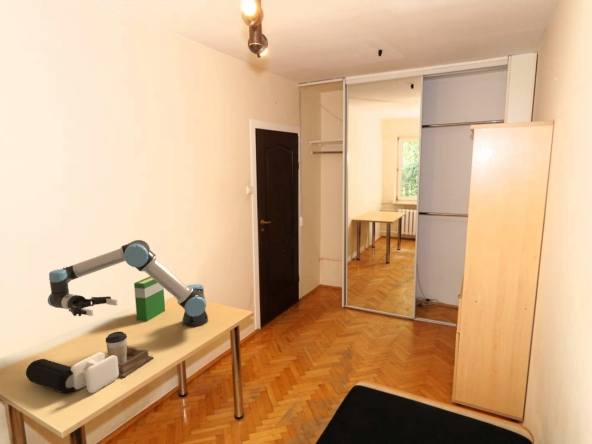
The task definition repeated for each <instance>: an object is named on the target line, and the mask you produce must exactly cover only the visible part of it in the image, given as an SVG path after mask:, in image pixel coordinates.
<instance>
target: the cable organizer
mask: <svg viewBox="0 0 592 444" xmlns="http://www.w3.org/2000/svg"><path fill="white" fill-rule="evenodd" d="M70 367H71V371H72V372H73V374H72V383H73V388H75V389H77V390H79V389H80V390H81V389H84V388H86V391H87V392H88V393H90V394H93V393H97V392H99V391H100V390H102V388H105V386H107V385H110V384H111V383H113V382H114V381H116V380H117V379H118V378H119V377H118V376H119V370H118V359H117V356H114V355H112V356H109V357H106V355H105V353H104V352H99V351H98V352H96V353H94V354H92V355H90V356H89V357H87V358H84V359H82V360H81V361H78V362H76V363H74V364H73V365H72V366H70Z"/></svg>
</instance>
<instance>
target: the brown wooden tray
mask: <svg viewBox="0 0 592 444" xmlns="http://www.w3.org/2000/svg"><path fill="white" fill-rule="evenodd" d="M152 360H154V356H152V355H151V356H150V355H149V350H148V349H144V348H141V347H136V346H131V345H127V354H126V362H124V363H121V362H118V370H119V376H118V377H117V378H122V379H125V378H126V377H127V376H130V375H131V374H132V373H134V372H136V371H137V370H138V369H140V368H142V367H144V365H146V364H147V363H149V362H151V361H152Z"/></svg>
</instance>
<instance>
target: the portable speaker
mask: <svg viewBox="0 0 592 444" xmlns="http://www.w3.org/2000/svg"><path fill="white" fill-rule="evenodd" d="M71 367H72V366H69V365H66V364H63V363H59V362H57V361H53V360H48V359H46V358H40V359H35V360H33V361H32V362H31V363H30V364H29V365H28V366H27V368H26V370H25V375H26V377H27V380H28V381H29V382H31V383H34V384H37V385H39V386H42V387H45V388H47V389H51V390H53V391H57V392H60V393H63V394H69V393H73V392H75V391H77V390H78V389H75V388H73V383H72V374H73V372H72V371H71Z"/></svg>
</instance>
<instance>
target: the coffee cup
mask: <svg viewBox="0 0 592 444" xmlns="http://www.w3.org/2000/svg"><path fill="white" fill-rule="evenodd" d="M127 337H128V336H127V333H124V332H123V331H114V332H111V333H109V334H108V335H107V336H106V337H105V342H106V351H107V356H108V357H109V356H112V355H114V356H117V359H118V362H121V363H124V362H126V354H127V346H128V341H127ZM108 357H107V358H108Z"/></svg>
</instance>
